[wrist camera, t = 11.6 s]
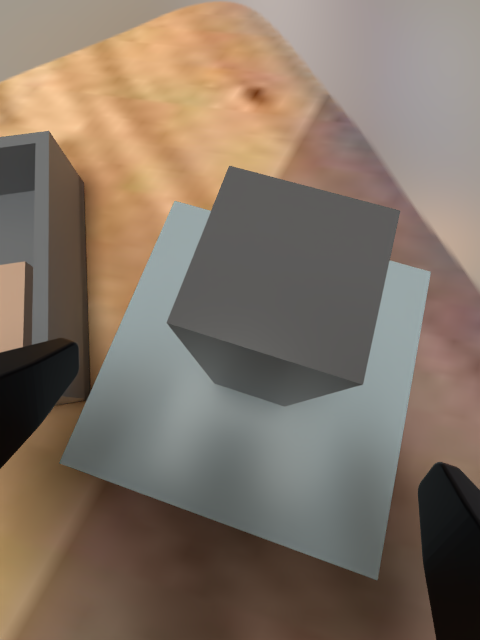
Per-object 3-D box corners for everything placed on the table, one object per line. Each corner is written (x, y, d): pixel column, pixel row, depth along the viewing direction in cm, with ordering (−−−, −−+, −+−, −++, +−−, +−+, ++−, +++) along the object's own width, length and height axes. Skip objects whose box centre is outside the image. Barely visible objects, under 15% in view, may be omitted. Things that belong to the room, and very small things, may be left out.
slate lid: (360, 559, 13) (766, 1044, 3) (80, 457, 14) (-321, 556, 4) (411, 287, 17) (686, 73, 6) (181, 221, 18) (97, -50, 7)
